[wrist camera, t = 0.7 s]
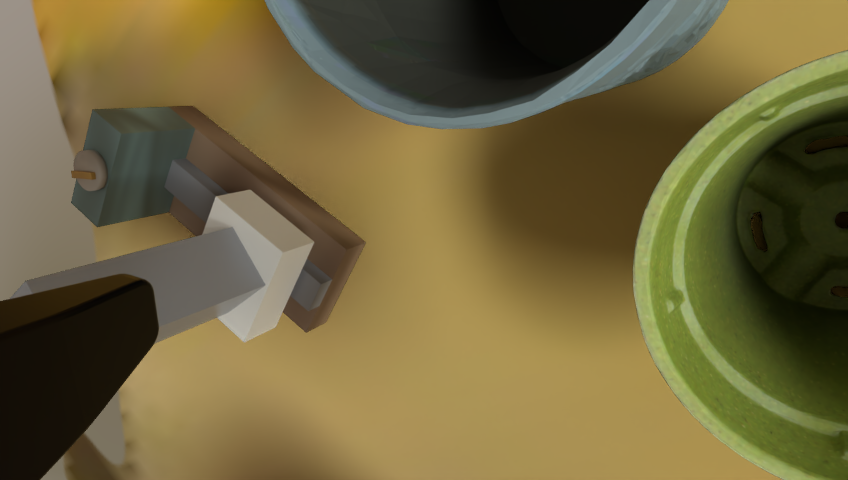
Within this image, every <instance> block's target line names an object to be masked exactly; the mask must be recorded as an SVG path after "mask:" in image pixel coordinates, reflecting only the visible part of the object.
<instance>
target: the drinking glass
mask: <svg viewBox="0 0 848 480" xmlns="http://www.w3.org/2000/svg"><path fill="white" fill-rule="evenodd" d="M265 2H266V5H267V7H268V9H269V11H270V12H271V14H272V16H273V17H274V19H275V20H276V22H277V23H278V25H279V27H280V28H281V30H282V31H283V33H284V35H285V36H286V38H287V39H288V41H289V42H290V44H291V46H292V47H293V48H294V49H295V51H296V52H297V53H298V54H299V55H300V56H301V57H302V58H303V59H304V61H305V62H306V63H307V64H308V65H309V66H310V67H311V68H312V69H313V70H314V72H316V73H317V74H318V75H320V76H321V77H322V78H324V79H325V80H326V81H328V82H329V83H330V84H332V85H333V86H335V87H336V88H337V89H339V90H340V91H341V92H343V93H344V94H345V95H347V96H348V97H349V98H351V99H352V100H354V101H355V102H356V103H358V104H359V105H360V106H362V107H363V108H365V109H368V110H370V111H373V112H376V113H378V114H381V115H384V116H386V117H389V118H392V119H394V120H397V121H400V122H402V123H405V124H409V125H416V126H423V127H431V128H438V129H467V128H486V127H492V126H497V125H502V124H507V123H512V122H515V121H518V120H521V119H524V118H527V117H530V116H533V115H535V114H538V113H541V112H544V111H546V110H548V109H551V108H553V107H555V106H558V105H560V104H562V103H565V102H569V101H572V100H574V99H579V98H583V97H586V96H590V95H592V94H596V93H600V92H604V91H606V90H609V89H612V88H614V87H617V86H621V85H624V84H628V83H631V82H635V81H638V80H641V79H643V78H645V77H647V76H650V75H652V74H654V73H656V72H659V71H661V70H662V69H664V68H665V67H667V66H669V65H670V64H672V63H673V62H675V61H677V60H678V59H679V58H680V57H682V56H683V55H684V54H685V53H686V52H688V51H689V50H690V49H691V48H692V47H693V46H694V45H696V44H697V43H698V42H699V41H700V40H701V39H702V38H703V37H704V36H705V34H706V33H707V32H708V31H709V29H710V28H711V27H712V26H713V24H714V23H715V21H716V20H717V18H718V17H719V15H720V14H721V13H722V11H723V10H724V8H725V6H726V4H727V2H728V0H265Z"/></svg>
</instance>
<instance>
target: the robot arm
mask: <svg viewBox="0 0 848 480" xmlns="http://www.w3.org/2000/svg"><path fill="white" fill-rule="evenodd" d="M158 333H159V322H158V315H157V308H156V302H155V295H154V289H153V287H152V285H151V283H150V282H148V281H147V280H145V279H142V278H139V277H136V276H133V275H130V274H116V275H111V276H107V277H103V278H98V279H94V280H90V281H85V282H81V283H77V284H72V285H68V286H64V287H59V288H55V289H51V290H47V291H42V292H38V293H34V294H29V295H25V296H21V297H16V298H12V299H8V300H3V301H0V480H40V479H41V478H42V477H43V476H44V475H45V474H46V473H47V472H48V471H49V470H50V469H51V468H52V467H53V465H54V464H55V463H56V462H57V461H58V460H59V459H60V458H61V457H62V456H63V455H64V454H65V453H66V452H67V451H68V450H69V449H70V447H71V446H72V445H73V444H74V443H75V442H76V441H77V440H78V439H79V438H80V437H81V435H82V434H83V433H84V432H85V431H86V430H87V429H88V427H89V426H90V425H91V424H92V423H93V421H94V420H95V419H96V418H97V416H98V415H99V414H100V413H101V411H102V410H103V409H104V408H105V406H106V405H107V404H108V402H109V401H110V400H111V399H112V397H113V396H114V395H115V393H116V392H117V391H118V390H119V388H120V387H121V386H122V385H123V383H124V382H125V381H126V379H127V378H128V377H129V376H130V374H131V373H132V372H133V370H134V369H135V368H136V367H137V365H138V364H139V363H140V362H141V360H142V359H143V358H144V356H145V355H146V354H147V353H148V351H149V350H150V349H151V347H152V346H153V345H154V343H155V341H156V339H157V337H158Z"/></svg>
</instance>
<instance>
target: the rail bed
mask: <svg viewBox="0 0 848 480" xmlns="http://www.w3.org/2000/svg"><path fill="white" fill-rule="evenodd" d="M71 173H72V178H76V184H75V188H74V193H73V197H72V201H71V203H72V204H73V205H74V206H75V207H76V208H77V209H78V210H80V211H81V212H82V213H83V214H84V215H85V216H86V217H87V218H88V219H89V220H90V221H91V222H92V223H93V224H94V225H95V226H97V227H100V226H105V225H110V224H115V223H119V222H124V221H129V220H134V219H138V218H143V217H148V216H153V215H158V214H162V213H167V212H169V213H170V214H171V215H173V216H174V217H175V218H176V219H177V220H178V221H179V222H181V223H182V224H183V225H184V226H185V227H186V228H187V229H189V230H190V231H191V232H192V233H193V234H194V235H195V236H199V235H202V234H203V231H204V228H205V225H206V223H207V220H208V217H209V214H210V211H211V208H212V206H213V203H214V200H215V197H216V196H220V195H225V194H230V193H235V192H240V191H245V190H251V191H253V192H254V193H255V194H256V195H257V196H259V197H260V198H261V199H262V200H264V201H265V202H266V203H267V204H269V205H270V206H271V207H272V208H273V209H275V210H276V211H277V212H278V213H280V214H281V215H282V216H283V217H285V218H286V219H287V220H288V221H289V222H291V223H292V224H293V225H294V226H296V227H297V228H298V229H299V230H300V231H302V232H303V233H304V234H305V235H307V236H308V237H309V238H310V239H312V240H313V241H314V244H313V246H312V249H311V251H310V253H309V255H308V257H307V260H306V262H305V264H304V266H303V268H302V270H301V273H300V275H299V277H298V279H297V281H296V284H295V286H294V288H293V290H292V292H291V295H290V297H289V299H288V301H287V303H286V306H285V308H284V310H283V313H284V314H286V315H287V316H288V317H289V318H290V319H291V320H292V321H294V322H295V323H296V324H297V325H298V326H299V327H300V328H301V329H303V330H304V331H305V332H306V333H307V332H309V331H310V330H312V329H314V328H316V327H318V326H320V325H322V324H324V323H326V321H327V319H328V317H329V315H330V313H331V311H332V309H333V307H334V305H335V303H336V301H337V299H338V297H339V295H340V293H341V291H342V289H343V287H344V285H345V283H346V281H347V279H348V277H349V275H350V273H351V271H352V269H353V267H354V265H355V263H356V261H357V259H358V257H359V255H360V253H361V251H362V249H363V247H364V245H365V243H366V242H365V241H363V240H362V239H361V238H360V237H358V236H357V235H356V234H354V233H353V232H352V231H351V230H349V229H348V228H347V227H346V226H344V225H343V224H342V223H341V222H339V221H338V220H337V219H335V218H334V217H333V216H332V215H330V214H329V213H328V212H327V211H325V210H324V209H323V208H322V207H320V206H319V205H318V204H316V203H315V202H314V201H313V200H311V199H310V198H309V197H308V196H306V195H305V194H304V193H302V192H301V191H300V190H299V189H297V188H296V187H295V186H294V185H292V184H291V183H290V182H289V181H287V180H286V179H285V178H283V177H282V176H281V175H280V174H278V173H277V172H276V171H275V170H273V169H272V168H271V167H270V166H268V165H267V164H266V163H264V162H263V161H262V160H261V159H259V158H258V157H257V156H256V155H254V154H253V153H252V152H251V151H249V150H248V149H247V148H245V147H244V146H243V145H242V144H240V143H239V142H238V141H237V140H235V139H234V138H233V137H231V136H230V135H229V134H228V133H226V132H225V131H224V130H223V129H221V128H220V127H219V126H218V125H216V124H215V123H214V122H212V121H211V120H210V119H209V118H207V117H206V116H205V115H204V114H202V113H201V112H200V111H199V110H197V109H196V108H195V107H193V106H177V107H148V108H119V109H93V110H92V114H91V119H90V123H89V127H88V132H87V136H86V140H85V145H84V149H83V151H80V152H78V153H77V155H76V156H75V159H74V171H71Z"/></svg>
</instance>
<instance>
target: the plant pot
mask: <svg viewBox="0 0 848 480" xmlns="http://www.w3.org/2000/svg"><path fill="white" fill-rule="evenodd" d="M836 136H848V50H846V51H843V52H839V53H836V54H832V55H829V56H826V57H823V58H820V59H817V60H814V61H811V62H809V63H806V64H804V65H801V66H799V67H796V68H794V69H792V70H789V71H787V72H785V73H783V74H781V75H779V76H777V77H775V78H773V79H771V80H769V81H767V82H765V83H764V84H762V85H760V86H758V87H756V88H755V89H753V90H751V91H750V92H748V93H746V94H745V95H743V96H742V97H740V98H739V99H737V100H736V101H734V102H733V103H731V104H730V105H729V106H727V107H726V108H725V109H723V110H722V111H721V112H720V113H718V114H717V115H716V116H715V117H713V118H712V119H711V120H710V121H709V122H708V123H707V124H705V125H704V126H703V127H702V128H701V129H700V130H699V131H698V132H697V133H696V134H695V135H694V136H693V137H692V138H691V139H690V140H689V141H688V142H687V143H686V145H685V146H684V147H683V148H682V149H681V151H680V152H679V153H678V154H677V156H676V157H675V158H674V159H673V161H672V162H671V163H670V165H669V166H668V167H667V169H666V170H665V172H664V174H663V175H662V177H661V178H660V180H659V182H658V183H657V185H656V187H655V189H654V191H653V193H652V195H651V197H650V199H649V201H648V204H647V206H646V208H645V211H644V214H643V216H642V219H641V223H640V227H639V231H638V235H637V239H636V244H635V251H634V260H633V289H634V297H635V303H636V309H637V315H638V319H639V322H640V326H641V329H642V334H643V337H644V340H645V342H646V345H647V347H648V350H649V352H650V354H651V356H652V358H653V360H654V362H655V364H656V366H657V368H658V370H659V371H660V373H661V375H662V376H663V378H664V379H665V381H666V383H667V384H668V386H669V387H670V388H671V390H672V391H673V393H674V394H675V395H676V397H677V398H678V399H679V400H680V402H681V403H682V404H683V406H684V407H685V408H686V409H687V410H688V411H689V412H690V413H691V415H692V416H693V417H695V418H696V419H697V420H698V421H699V422H700V423H701V424H702V425H703V426H704V427H705V428H706V429H707V430H708V431H709V432H711V433H712V434H713V435H714V436H715V437H716V438H717V439H719V440H720V441H721V442H722V443H724V444H725V445H727V446H728V447H729V448H731V449H732V450H733V451H735V452H736V453H738V454H739V455H740V456H742V457H743V458H745V459H747V460H748V461H750V462H752V463H753V464H755V465H757V466H758V467H760V468H762V469H763V470H765V471H767V472H769V473H771V474H773V475H775V476H777V477H779V478H781V479H783V480H848V297H839V296H836V295H833V294H832V293H831V288H832V287H834V286H848V228H843V229H842V228H840V227H838V226H837V225H836V224H835V218H836V215H837V214H838V213H841V212H848V147H840V148H838V147H836V148H831V149H826V150H822V151H819V152H817V153H815V154H806V153H805V152H804V151H805V148H806V147H807V145H809V144H810V143H811V142H813V141H814V140H819V139H827V138H831V137H836ZM756 212H760V213H761V214H762V224H763V234H764V237H765V241H766V244H767V247H768V250H767V251H763V250H760V249H758V248H757V246H756V244H755V241H754V238H753V233H752V230H751V221H750V219H751V217H752V216H753V214H754V213H756Z"/></svg>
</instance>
